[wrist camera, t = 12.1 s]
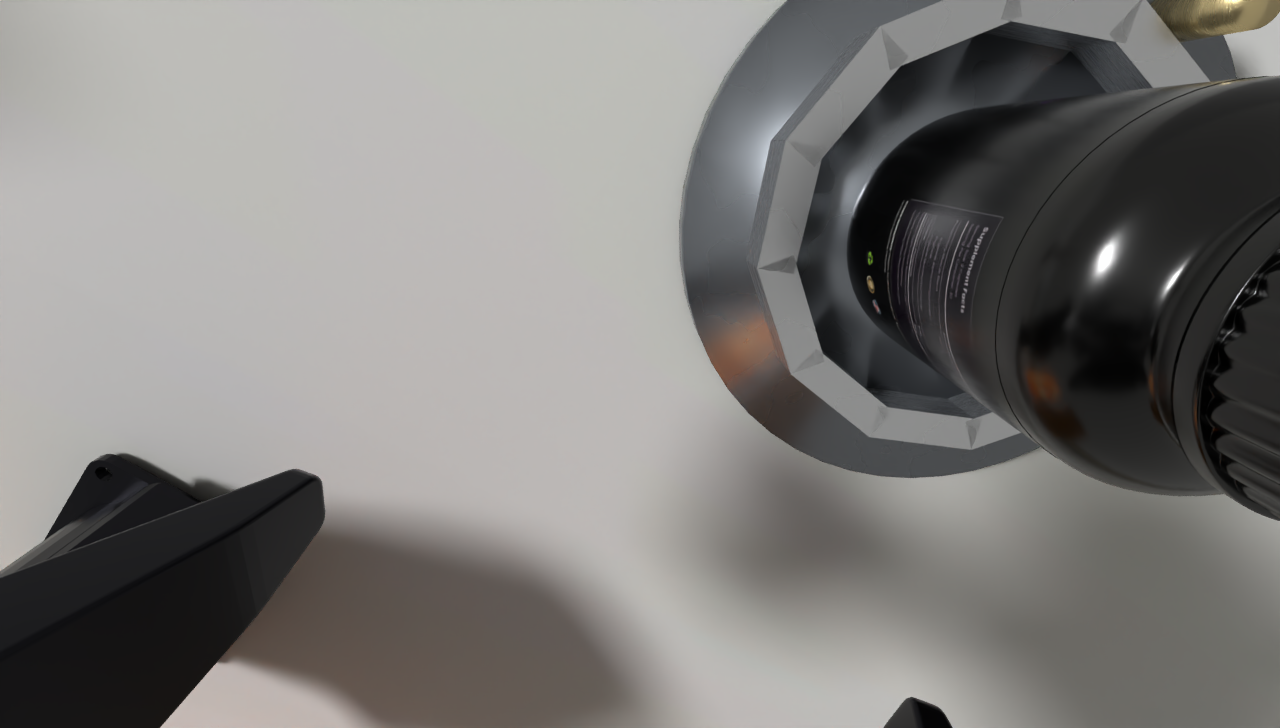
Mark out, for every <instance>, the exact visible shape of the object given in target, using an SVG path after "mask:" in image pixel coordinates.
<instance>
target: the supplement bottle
mask: <svg viewBox="0 0 1280 728" xmlns="http://www.w3.org/2000/svg"><path fill="white" fill-rule="evenodd" d="M846 254H847V267H848V272H849V278H850V281H851V285H852V288H853V291H854V293H855V296H856V298H857V300H858V302H859V304H860V305H861V307H862V309H863V310H864V312H865V313H866V315H867V316H868V317H869V318H870V319H871V321H872V322H873V323H874V324H875V325H876V326H877V327H878V328H879V329H880V330H881V331H882V332H884V333H885V334H886V335H887V336H888V337H890V338H891V339H892V340H894V341H895V342H896V343H897V344H899V345H900V346H902V347H903V348H904V349H906V350H907V351H908V352H910V353H911V354H913V355H914V356H915V357H917V358H918V359H920V360H921V361H922V362H924V363H925V364H926V365H928V366H929V367H931V368H932V369H933V370H935V371H936V372H938V373H939V374H940V375H942V376H943V377H945V378H946V379H947V380H949V381H950V382H951V383H953V384H954V385H956V386H957V387H958V388H960V389H961V390H963V391H964V392H965V393H967V394H968V395H970V396H971V397H972V398H974V399H975V400H976V401H978V402H979V403H981V404H982V405H983V406H985V407H986V408H988V409H989V410H990V411H992V412H993V413H995V414H996V415H997V416H999V417H1000V418H1001V419H1003V420H1004V421H1006V422H1007V423H1008V424H1010V425H1011V426H1013V427H1014V428H1015V429H1017V430H1018V431H1019V432H1021V433H1022V434H1024V435H1025V436H1026V437H1028V438H1029V439H1031V440H1032V441H1033V442H1035V443H1036V444H1038V445H1039V446H1040V447H1042V448H1043V449H1045V450H1046V451H1047V452H1049V453H1050V454H1052V455H1053V456H1055V457H1056V458H1058V459H1060V460H1061V461H1063V462H1064V463H1066V464H1067V465H1069V466H1071V467H1072V468H1074V469H1076V470H1078V471H1079V472H1081V473H1083V474H1085V475H1087V476H1089V477H1091V478H1094V479H1096V480H1098V481H1101V482H1103V483H1106V484H1109V485H1112V486H1116V487H1119V488H1123V489H1127V490H1132V491H1137V492H1143V493H1149V494H1157V495H1169V496H1208V495H1219V494H1225V495H1227V496H1228V497H1230V498H1232V499H1233V500H1235V501H1236V502H1238V503H1240V504H1241V505H1243V506H1245V507H1247V508H1248V509H1250V510H1252V511H1254V512H1256V513H1259V514H1261V515H1263V516H1266V517H1268V518H1271V519H1275V520H1278V521H1280V76H1262V77H1252V78H1241V79H1231V80H1221V81H1212V82H1203V83H1193V84H1184V85H1175V86H1166V87H1157V88H1148V89H1139V90H1130V91H1120V92H1111V93H1102V94H1093V95H1084V96H1075V97H1066V98H1057V99H1048V100H1038V101H1029V102H1020V103H1011V104H1002V105H994V106H988V107H981V108H975V109H970V110H965V111H961V112H958V113H954V114H951V115H948V116H945V117H943V118H940V119H938V120H935V121H933V122H931V123H929V124H928V125H926V126H924V127H922V128H920V129H919V130H917V131H916V132H914V133H913V134H911V135H910V136H909V137H907V138H906V139H905V140H903V141H902V142H901V143H900V144H899V145H898V146H896V147H895V148H894V149H893V150H892V151H891V152H890V153H889V154H888V155H887V156H886V157H885V158H884V159H883V161H882V162H881V163H880V164H879V165H878V167H877V168H876V169H875V171H874V172H873V173H872V175H871V176H870V178H869V179H868V181H867V183H866V184H865V186H864V188H863V190H862V192H861V194H860V195H859V198H858V200H857V203H856V205H855V208H854V211H853V214H852V217H851V221H850V225H849V230H848V237H847V253H846Z"/></svg>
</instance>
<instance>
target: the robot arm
mask: <svg viewBox="0 0 1280 728" xmlns="http://www.w3.org/2000/svg"><path fill="white" fill-rule="evenodd" d="M106 468H107V469H109V470H110V471H111V473H112V474H111V473H109V472H108V471H107V470H106ZM324 518H325V505H324V496H323V486H322V481H321V479H320V478H319V477H318V476H316V475H313V474H311V473H308V472H305V471H302V470H299V469H292V470H288V471H285V472H282V473H280V474H277V475H274V476H271V477H269V478H266V479H263V480H261V481H258V482H255V483H253V484H250V485H247V486H245V487H242V488H239V489H236V490H234V491H231V492H228V493H226V494H223V495H220V496H218V497H215V498H212V499H210V500H207V501H204V502H202V501H200V500H198V499H196V498H194V497H192V496H191V495H189V494H187V493H185V492H183V491H181V490H180V489H178V488H176V487H174V486H172V485H171V484H169V483H167V482H165V481H163V480H161V479H160V478H158V477H156V476H154V475H152V474H150V473H149V472H147V471H145V470H143V469H141V468H139V467H138V466H136V465H134V464H132V463H130V462H128V461H127V460H125V459H123V458H121V457H119V456H116V455H114V454H106V455H102V456H100V457H99V458H97V459H96V460H94V461H92V462H91V463H90V464H89V465H88V466H87V468H86V470H85V471H84V473H83V475H82V476H81V478H80V480H79V482H78V483H77V485H76V487H75V488H74V490H73V492H72V494H71V495H70V497H69V499H68V500H67V502H66V504H65V506H64V507H63V509H62V511H61V512H60V514H59V516H58V518H57V519H56V521H55V523H54V524H53V526H52V528H51V530H50V531H49V533H48V535H47V536H46V538H45V540H44V541H43V542H42V543H40V544H39V545H37V546H36V547H34V548H33V549H32V550H30V551H29V552H27V553H26V554H24V555H23V556H22V557H20V558H19V559H17V560H16V561H14V562H13V563H12V564H10V565H9V566H7V567H6V568H4V569H3V570H2V571H0V728H160V727H161V726H162V725H163V723H164V722H165V721H166V720H167V719H168V718H169V717H170V715H171V714H172V713H173V712H174V711H175V710H176V709H177V707H178V706H179V705H180V704H181V703H182V702H183V701H184V699H185V698H186V697H187V696H188V695H189V694H190V692H191V691H192V690H193V689H194V688H195V687H196V686H197V684H198V683H199V682H200V681H201V680H202V679H203V678H204V676H205V675H206V674H207V673H208V672H209V671H210V670H211V668H212V667H213V666H214V665H215V664H216V663H217V662H218V660H219V659H220V658H221V657H222V656H223V655H224V653H225V652H226V651H227V650H228V649H229V648H230V647H231V645H232V644H233V643H234V642H235V641H236V640H237V639H238V637H239V636H240V635H241V634H242V633H243V632H244V631H245V629H246V628H247V627H248V626H249V625H250V623H251V622H252V621H253V620H254V619H255V617H256V616H257V615H258V614H259V612H260V611H261V610H262V608H263V607H264V606H265V604H266V603H267V602H268V601H269V599H270V598H271V596H272V595H273V594H274V592H275V591H276V589H277V588H278V587H279V585H280V584H281V582H282V581H283V580H284V578H285V577H286V575H287V574H288V573H289V571H290V570H291V568H292V567H293V566H294V564H295V563H296V561H297V560H298V559H299V557H300V556H301V555H302V553H303V552H304V550H305V549H306V548H307V546H308V545H309V543H310V542H311V541H312V539H313V538H314V536H315V535H316V534H317V532H318V531H319V529H320V528H321V526H322V524H323V521H324ZM884 728H952V726H951V724H950V722H949V720H948V719H947V717H946V715H945V714H944V712H943V711H942V710H941V709H940V708H939V707H937V706H935V705H933V704H930V703H927V702H925V701H922V700H919V699H917V698H913V697H910V698H907V699H906V700H905V701H904V702H903V703H902V704H901V705H900V707H899V708H898V709H897V710H896V712H895V713H894V714H893V716H892V717H891V718H890V719H889V721H888V722H887V723H886V725H885V726H884Z"/></svg>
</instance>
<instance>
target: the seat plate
mask: <svg viewBox="0 0 1280 728" xmlns="http://www.w3.org/2000/svg"><path fill="white" fill-rule="evenodd" d="M1279 12H1280V0H787V1H786V2H785V3H784V4H782V5H781V6H780V7H779V8H778V9H777V10H776V11H775V12H774V13H773V14H772V16H771V17H770V18H769V19H768V20H767V21H766V22H765V24H764V25H763V26H762V27H761V28H760V29H759V30H758V32H757V33H756V34H755V35H754V36H753V37H752V38H751V40H750V41H749V42H748V43H747V45H746V46H745V48H744V49H743V51H742V52H741V54H740V55H739V57H738V58H737V60H736V61H735V62H734V64H733V65H732V67H731V68H730V70H729V71H728V73H727V74H726V76H725V77H724V79H723V81H722V83H721V85H720V87H719V89H718V91H717V93H716V95H715V97H714V99H713V101H712V102H711V104H710V106H709V108H708V110H707V112H706V114H705V117H704V120H703V122H702V125H701V128H700V131H699V133H698V136H697V139H696V141H695V144H694V147H693V149H692V153H691V157H690V161H689V166H688V170H687V174H686V178H685V182H684V186H683V194H682V203H681V212H680V222H679V240H680V264H681V270H682V277H683V284H684V290H685V295H686V298H687V302H688V305H689V309H690V312H691V315H692V319H693V322H694V325H695V327H696V329H697V332H698V334H699V336H700V338H701V341H702V343H703V345H704V347H705V349H706V352H707V354H708V356H709V358H710V361H711V363H712V364H713V366H714V368H715V369H716V371H717V372H718V374H719V375H720V377H721V379H722V380H723V382H724V383H725V385H726V386H727V388H728V390H729V391H730V392H731V393H732V394H733V395H734V397H735V398H736V399H737V400H738V401H739V402H740V404H741V405H742V406H743V407H744V408H745V409H746V411H747V412H748V413H749V414H750V415H751V416H753V417H754V418H755V419H756V420H757V421H758V422H759V423H760V424H762V425H763V426H764V427H765V428H766V429H767V430H768V431H770V432H771V433H772V434H774V435H775V436H777V437H778V438H780V439H781V440H783V441H784V442H786V443H787V444H789V445H791V446H792V447H794V448H795V449H797V450H799V451H801V452H803V453H805V454H807V455H810V456H812V457H814V458H816V459H818V460H820V461H822V462H825V463H828V464H832V465H835V466H838V467H841V468H844V469H847V470H850V471H855V472H861V473H866V474H872V475H877V476H887V477H905V478H917V477H934V476H945V475H951V474H957V473H962V472H968V471H974V470H977V469H981V468H984V467H988V466H991V465H995V464H998V463H1001V462H1005V461H1007V460H1010V459H1012V458H1015V457H1017V456H1020V455H1022V454H1025V453H1027V452H1030V451H1032V450H1035V449H1037V448H1039V447H1040V446H1039V445H1038V444H1036V443H1035V442H1033V441H1032V440H1031V439H1029V438H1028V437H1026V436H1025V435H1024V434H1022V433H1021V432H1019V431H1018V430H1017V429H1015V428H1014V427H1013V426H1011V425H1010V424H1008V423H1007V422H1006V421H1004V420H1003V419H1001V418H1000V417H999V416H997V415H996V414H995V413H993V412H992V411H990V410H989V409H988V408H986V407H985V406H983V405H982V404H981V403H979V402H978V401H976V400H975V399H974V398H972V397H971V396H970V395H968V394H967V393H965V392H964V391H963V390H961V389H960V388H958V387H957V386H956V385H954V384H953V383H951V382H950V381H949V380H947V379H946V378H945V377H943V376H942V375H940V374H939V373H938V372H936V371H935V370H933V369H932V368H931V367H929V366H928V365H926V364H925V363H924V362H922V361H921V360H920V359H918V358H917V357H915V356H914V355H913V354H911V353H910V352H908V351H907V350H906V349H904V348H903V347H902V346H900V345H899V344H897V343H896V342H895V341H894V340H892V339H891V338H890V337H888V336H887V335H886V334H885V333H884V332H882V331H881V330H880V329H879V328H878V327H877V326H876V325H875V324H874V323H873V322H872V321H871V319H870V318H869V317H868V316H867V315H866V313H865V312H864V310H863V309H862V307H861V305H860V304H859V302H858V300H857V298H856V296H855V293H854V291H853V288H852V285H851V281H850V278H849V272H848V267H847V254H846V253H847V237H848V230H849V225H850V221H851V217H852V214H853V211H854V208H855V205H856V203H857V200H858V198H859V195H860V194H861V192H862V190H863V188H864V186H865V184H866V183H867V181H868V179H869V178H870V176H871V175H872V173H873V172H874V171H875V169H876V168H877V167H878V165H879V164H880V163H881V162H882V161H883V159H884V158H885V157H886V156H887V155H888V154H889V153H890V152H891V151H892V150H893V149H894V148H895V147H896V146H898V145H899V144H900V143H901V142H902V141H903V140H905V139H906V138H907V137H909V136H910V135H911V134H913V133H914V132H916V131H917V130H919V129H920V128H922V127H924V126H926V125H928V124H929V123H931V122H933V121H935V120H938V119H940V118H943V117H945V116H948V115H951V114H954V113H958V112H961V111H965V110H970V109H975V108H981V107H988V106H994V105H1002V104H1011V103H1020V102H1029V101H1038V100H1048V99H1057V98H1066V97H1075V96H1084V95H1093V94H1102V93H1111V92H1120V91H1130V90H1139V89H1148V88H1157V87H1166V86H1175V85H1184V84H1193V83H1203V82H1212V81H1221V80H1231V79H1237V77H1236V73H1235V69H1234V65H1233V61H1232V57H1231V53H1230V50H1229V48H1228V45H1227V43H1226V41H1225V38H1224V36H1223V35H1225V34H1231V33H1237V32H1242V31H1248V30H1254V29H1258V28H1261V27H1263V26H1265V25H1267V24H1268V23H1269V22H1271V21H1272V20H1273V19H1274V18H1275V17H1276V16H1277V15H1278V13H1279Z"/></svg>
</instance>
